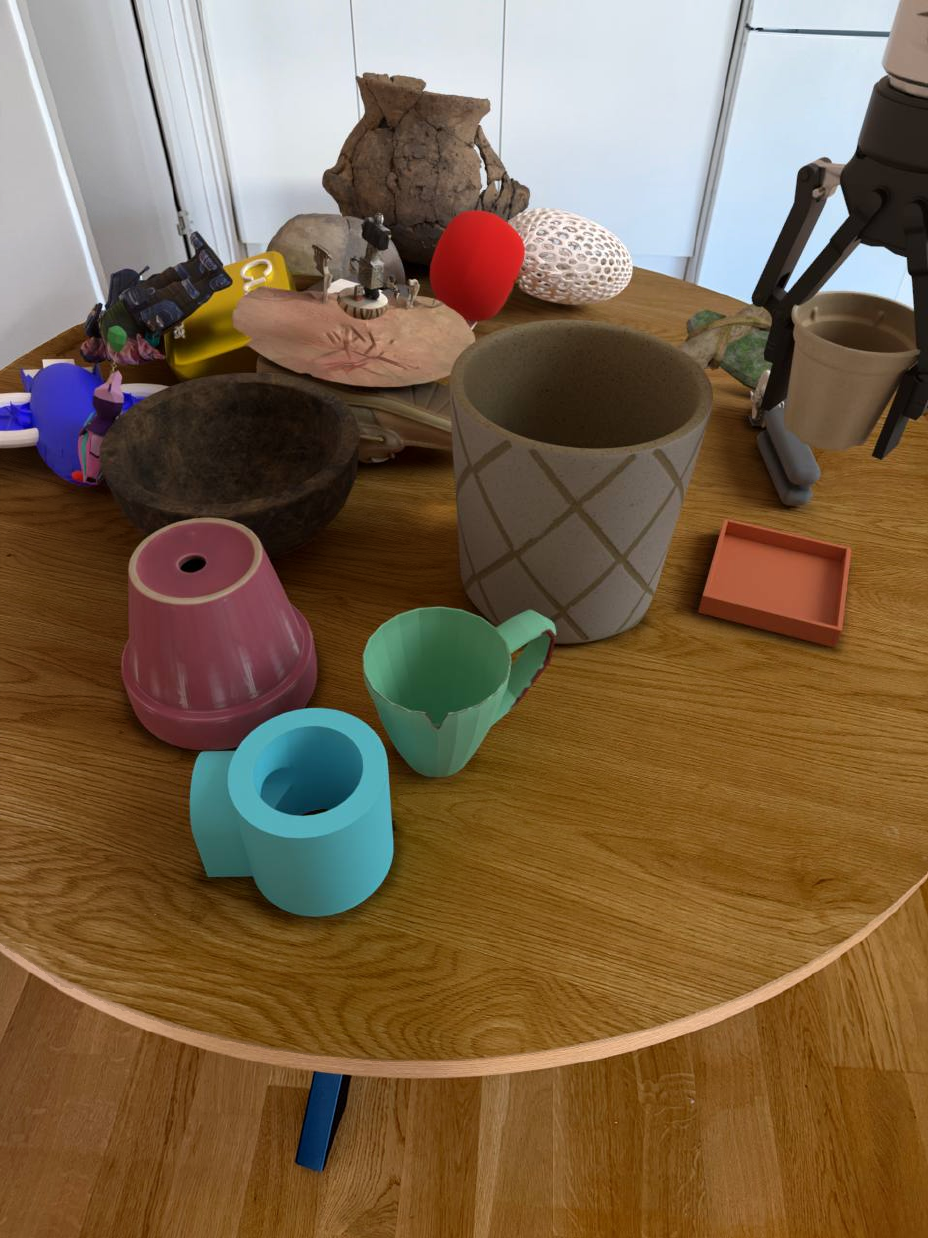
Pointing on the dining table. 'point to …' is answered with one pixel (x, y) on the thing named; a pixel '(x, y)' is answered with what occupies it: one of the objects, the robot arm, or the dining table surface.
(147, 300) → the action figure
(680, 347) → the stone axe
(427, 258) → the clay pot
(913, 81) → the robot arm
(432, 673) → the mug
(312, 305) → the sculpture
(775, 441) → the can opener
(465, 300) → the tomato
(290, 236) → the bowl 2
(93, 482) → the toy
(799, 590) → the pot tray
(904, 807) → the dining table surface
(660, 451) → the planter
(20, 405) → the toy airplane
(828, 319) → the flower pot
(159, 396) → the bowl
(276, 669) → the flower pot
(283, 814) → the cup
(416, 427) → the boat shoe
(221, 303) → the element tile
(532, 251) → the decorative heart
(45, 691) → the dining table surface
